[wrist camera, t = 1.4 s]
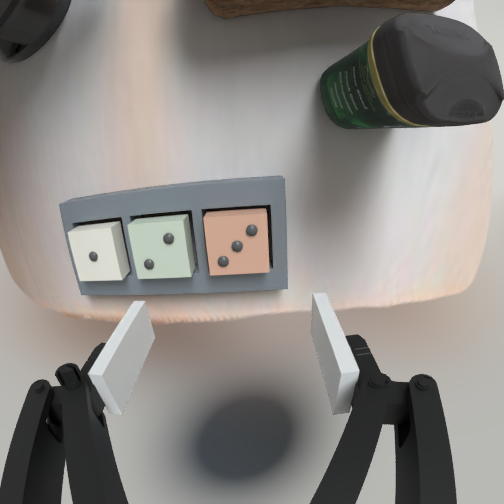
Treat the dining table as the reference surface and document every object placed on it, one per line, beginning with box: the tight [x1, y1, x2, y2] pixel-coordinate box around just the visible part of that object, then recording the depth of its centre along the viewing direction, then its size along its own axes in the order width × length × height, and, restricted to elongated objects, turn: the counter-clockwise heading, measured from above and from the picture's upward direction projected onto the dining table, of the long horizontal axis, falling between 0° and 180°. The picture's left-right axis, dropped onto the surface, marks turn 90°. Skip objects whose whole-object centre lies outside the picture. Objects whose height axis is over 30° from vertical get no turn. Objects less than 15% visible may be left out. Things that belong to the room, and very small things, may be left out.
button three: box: [203, 208, 270, 276], centre depth 30 cm, size 6×6×3 cm
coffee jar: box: [320, 12, 504, 129], centre depth 19 cm, size 10×8×19 cm
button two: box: [127, 214, 195, 279], centre depth 30 cm, size 6×6×3 cm
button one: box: [67, 221, 130, 281], centre depth 30 cm, size 6×6×3 cm
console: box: [59, 176, 288, 295], centre depth 32 cm, size 26×12×3 cm, turn 94°
